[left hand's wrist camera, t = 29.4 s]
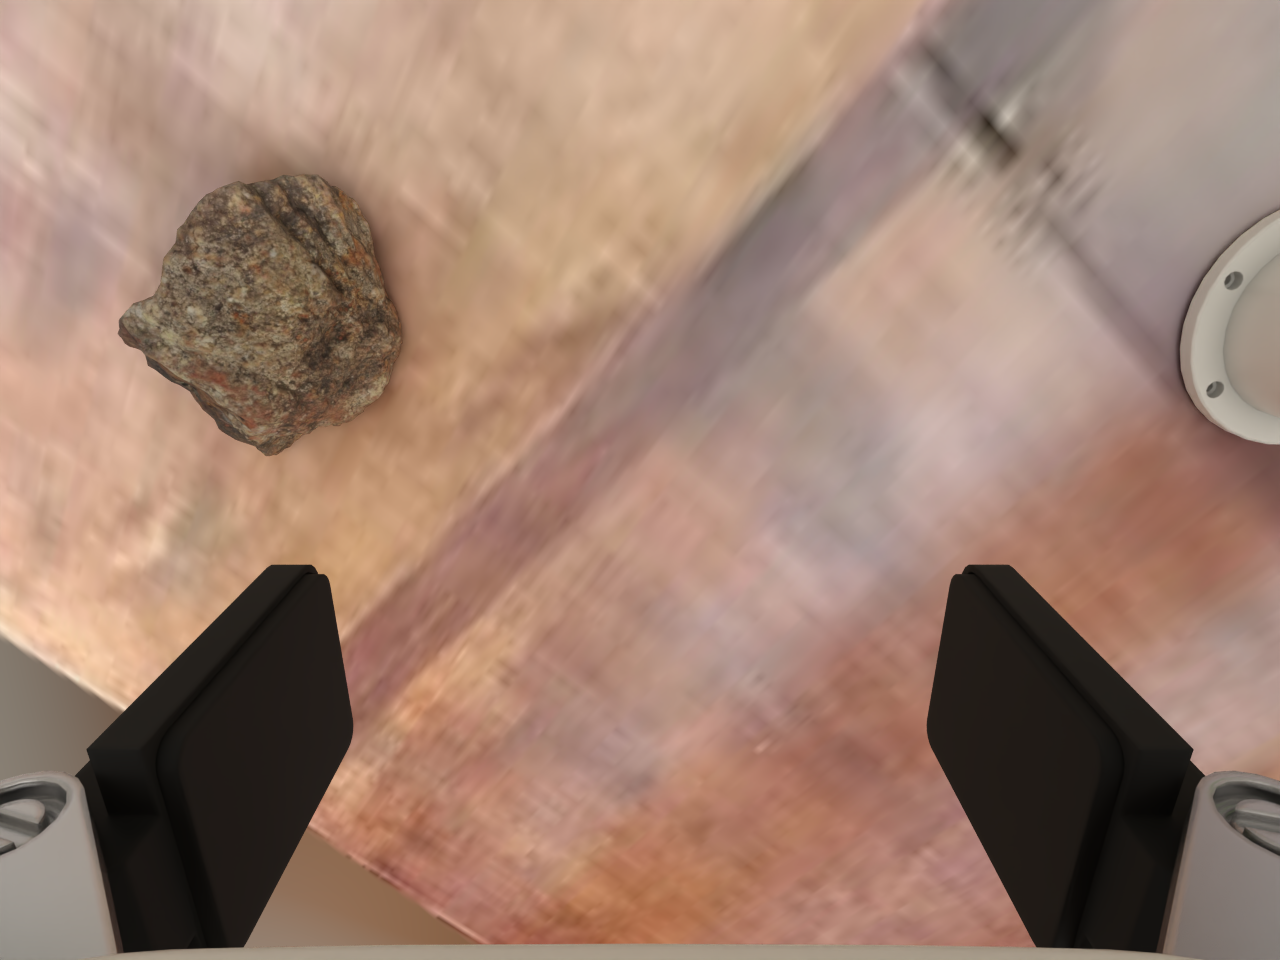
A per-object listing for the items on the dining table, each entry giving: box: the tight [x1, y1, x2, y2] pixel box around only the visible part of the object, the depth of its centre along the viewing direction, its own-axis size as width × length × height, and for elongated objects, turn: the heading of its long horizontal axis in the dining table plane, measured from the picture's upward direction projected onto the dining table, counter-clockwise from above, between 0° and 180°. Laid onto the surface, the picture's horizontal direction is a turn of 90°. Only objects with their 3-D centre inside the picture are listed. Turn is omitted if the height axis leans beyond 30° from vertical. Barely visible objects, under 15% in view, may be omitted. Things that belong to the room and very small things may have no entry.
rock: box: [118, 174, 402, 456], centre depth 35 cm, size 14×9×10 cm
